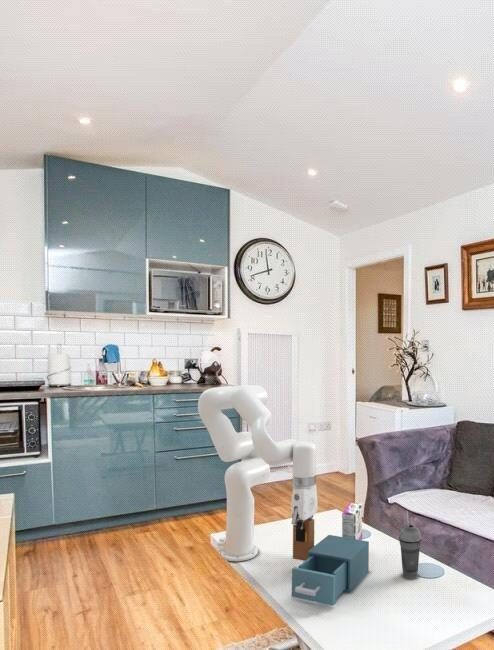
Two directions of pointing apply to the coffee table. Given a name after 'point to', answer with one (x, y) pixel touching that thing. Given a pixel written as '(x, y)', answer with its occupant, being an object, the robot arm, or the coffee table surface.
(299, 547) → the brown rectangular box
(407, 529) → the beverage cup
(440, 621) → the coffee table surface
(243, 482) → the robot arm
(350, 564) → the cabinet
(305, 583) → the drawer
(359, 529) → the candy bar box
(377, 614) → the coffee table surface
